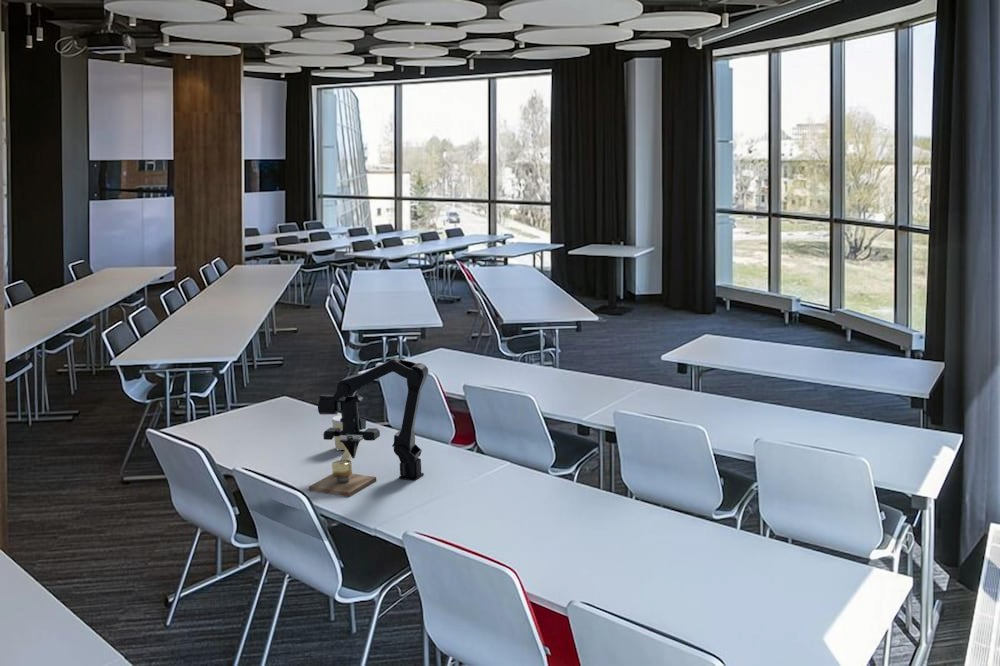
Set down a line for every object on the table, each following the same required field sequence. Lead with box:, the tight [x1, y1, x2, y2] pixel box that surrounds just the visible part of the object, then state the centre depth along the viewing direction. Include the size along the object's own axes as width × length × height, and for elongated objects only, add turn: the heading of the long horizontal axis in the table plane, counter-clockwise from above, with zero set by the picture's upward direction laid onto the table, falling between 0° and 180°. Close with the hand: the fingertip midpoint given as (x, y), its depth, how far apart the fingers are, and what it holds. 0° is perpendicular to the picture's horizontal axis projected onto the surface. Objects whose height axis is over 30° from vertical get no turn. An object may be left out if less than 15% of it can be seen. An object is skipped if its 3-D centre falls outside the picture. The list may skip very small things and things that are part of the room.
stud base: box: [308, 473, 377, 498], centre depth 306 cm, size 16×16×4 cm
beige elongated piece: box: [331, 449, 353, 478], centre depth 311 cm, size 18×6×4 cm, turn 1°
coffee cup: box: [331, 414, 347, 451], centre depth 347 cm, size 9×9×12 cm
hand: (353, 458), depth 316 cm, fingers closed
